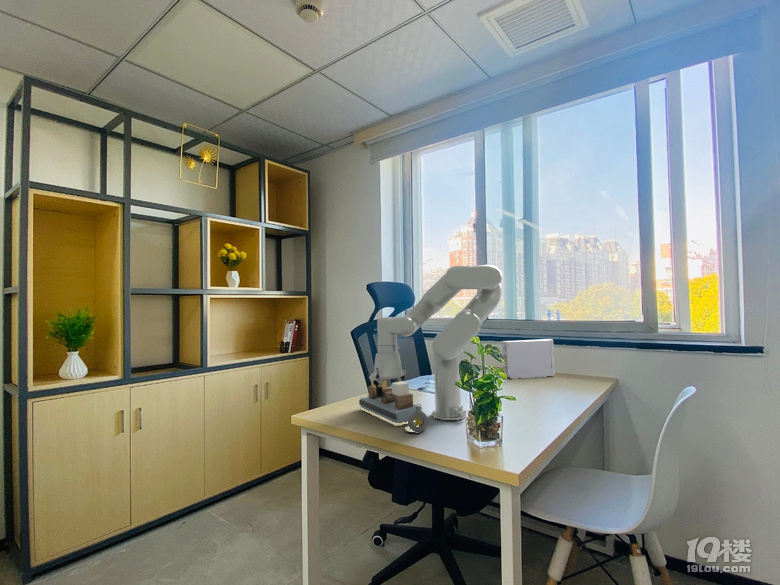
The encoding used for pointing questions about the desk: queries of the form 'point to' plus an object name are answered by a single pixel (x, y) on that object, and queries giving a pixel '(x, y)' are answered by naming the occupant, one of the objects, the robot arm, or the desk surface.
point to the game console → (528, 358)
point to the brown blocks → (392, 398)
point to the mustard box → (381, 385)
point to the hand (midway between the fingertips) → (389, 394)
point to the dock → (387, 409)
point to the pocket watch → (417, 420)
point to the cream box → (400, 388)
